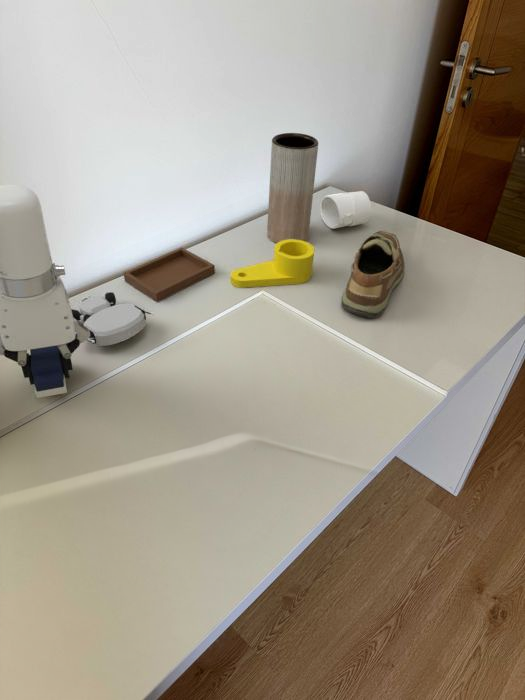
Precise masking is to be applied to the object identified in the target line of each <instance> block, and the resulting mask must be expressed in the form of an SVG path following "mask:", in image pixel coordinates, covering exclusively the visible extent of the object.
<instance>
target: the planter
mask: <svg viewBox="0 0 525 700" xmlns="http://www.w3.org/2000/svg"><path fill="white" fill-rule="evenodd" d="M270 149H271V150H270V169H269V170H270V171H269V187H268V188H269V189H268V190H269V191H268V209H267V226H266V227H267V229H266V231H267V232H266V233H267V234H266V236H267V238H268V239H269V240H270V241H271V242H272V243H274V244H277V243H278V242H280V241H283V240H288V239H296V240H302V241H305V242H308V239H309V234H310V226H311V217H312V209H313V208H312V207H313V199H314V187H315V180H316V172H317V171H316V170H317V160H318V152H319V140H318V139H317V138H316V137H314V136H312V135H309V134H306V133H300V132H299V133H298V132H284V133H279V134H277V135H275V136H273V137H272V139H271V147H270Z"/></svg>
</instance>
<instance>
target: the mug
mask: <svg viewBox="0 0 525 700" xmlns="http://www.w3.org/2000/svg"><path fill="white" fill-rule="evenodd" d="M320 214H321V218H322V220H323V222H324V223H325V225H326V226H327V227H328V228H329V229H330V230H335V229H336V230H337V229H340V228H344V227H354V226H359V225H363V224H367V222H369V220H370V218H371V215H372V204H371V200H370V197H369V195H368V194H367V193H366V192H365V191H363V190H359V191H349V192H340V193H331V194H328V195H326V196H324V197H322V199H321V202H320Z"/></svg>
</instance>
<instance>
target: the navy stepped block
mask: <svg viewBox="0 0 525 700" xmlns="http://www.w3.org/2000/svg"><path fill="white" fill-rule="evenodd" d="M29 355H30V356H31V370H32V374H33V377H34V384H33V385H34V393H35V397H36V399H39V398H46V397H50V396H51V397H52V396H56V395H61V394H62V395H63V394H67V393H68V390H67V384H66V383H67V382H66V378H65V376H64V373H63V368H62V364H61V358H60V350H59V348H58V346H57V345H55V346H49V347H43V348H36V349H30V350H29Z"/></svg>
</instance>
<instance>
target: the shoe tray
mask: <svg viewBox="0 0 525 700" xmlns="http://www.w3.org/2000/svg"><path fill="white" fill-rule="evenodd" d="M215 267H216V266H215V264H213V263H211V262H210V261H208V260H206V259H205V258H203V257H200V256H198V255H197V254H195V253H193V252H192V251H190V250H187V249H185V248H184V247H179V248H177V249H175V250H172V251H170V252H167V253H166V254H164V255H161V256H159V257H157V258H154V259H152V260H150V261H147V262H145V263H143V264H140V265H138V266H136V267H134V268H131V269H129V270H127V271H124V272H123V279H124V282H125V283H127V284H128V285H129V286H131V287H133V288H134V289H136V290H137V291H139V292H140V293H142V294H144V295H145V296H147V297H148V298H150V299H151V300H153V301H154V302H156V303H159V302H161V301H163V300H165V299H166V298H169V297H171V296H172V295H176V294H177V293H179V292H181V291H183V290H185V289H186V288H188V287H192V285H196V283H198V282H201V281H203V280H205V279H206V278H209V277H210V276H212V275H215V274H216V272H215V271H216V270H215Z"/></svg>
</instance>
